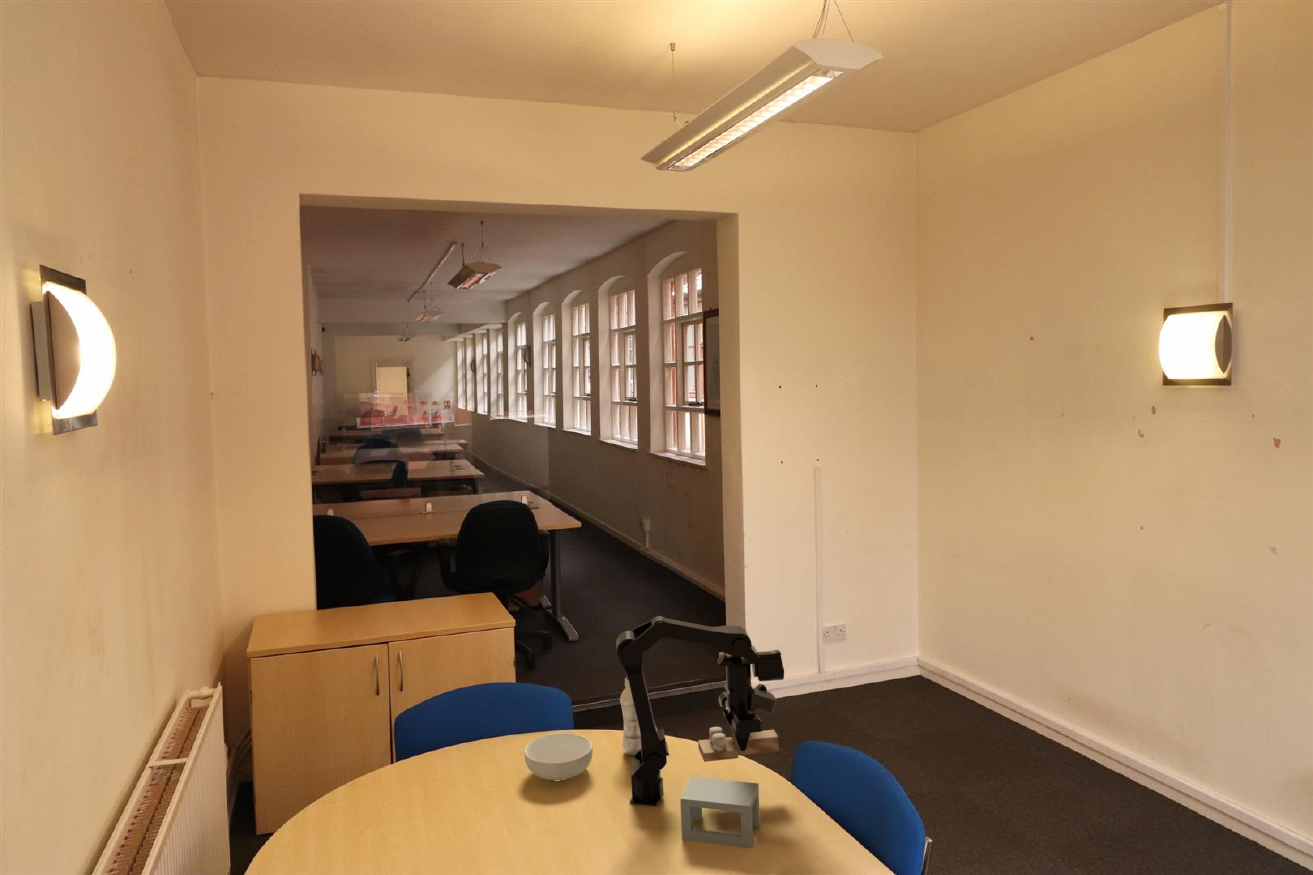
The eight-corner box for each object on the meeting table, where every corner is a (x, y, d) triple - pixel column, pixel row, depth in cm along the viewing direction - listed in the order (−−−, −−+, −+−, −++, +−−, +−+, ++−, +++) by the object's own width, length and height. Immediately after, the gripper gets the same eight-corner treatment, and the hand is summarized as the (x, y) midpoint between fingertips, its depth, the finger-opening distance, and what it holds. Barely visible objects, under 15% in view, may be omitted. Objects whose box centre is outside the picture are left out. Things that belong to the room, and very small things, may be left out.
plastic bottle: (645, 758, 223) (642, 683, 221) (619, 757, 224) (616, 682, 222) (650, 747, 229) (647, 674, 227) (625, 746, 231) (622, 673, 229)
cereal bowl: (540, 797, 205) (539, 768, 205) (516, 769, 220) (514, 742, 219) (605, 778, 214) (603, 750, 213) (577, 752, 228) (576, 726, 227)
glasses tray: (772, 741, 208) (771, 720, 207) (780, 753, 201) (779, 733, 201) (698, 748, 206) (697, 728, 205) (704, 761, 199) (703, 740, 198)
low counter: (681, 838, 185) (680, 798, 184) (693, 814, 194) (691, 776, 194) (751, 847, 181) (750, 806, 180) (759, 822, 190) (758, 783, 189)
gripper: (783, 693, 194) (785, 760, 195) (761, 665, 212) (763, 726, 214) (735, 698, 192) (737, 765, 194) (717, 669, 211) (719, 731, 212)
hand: (740, 746), depth 203 cm, fingers closed on glasses tray, 4 cm apart
